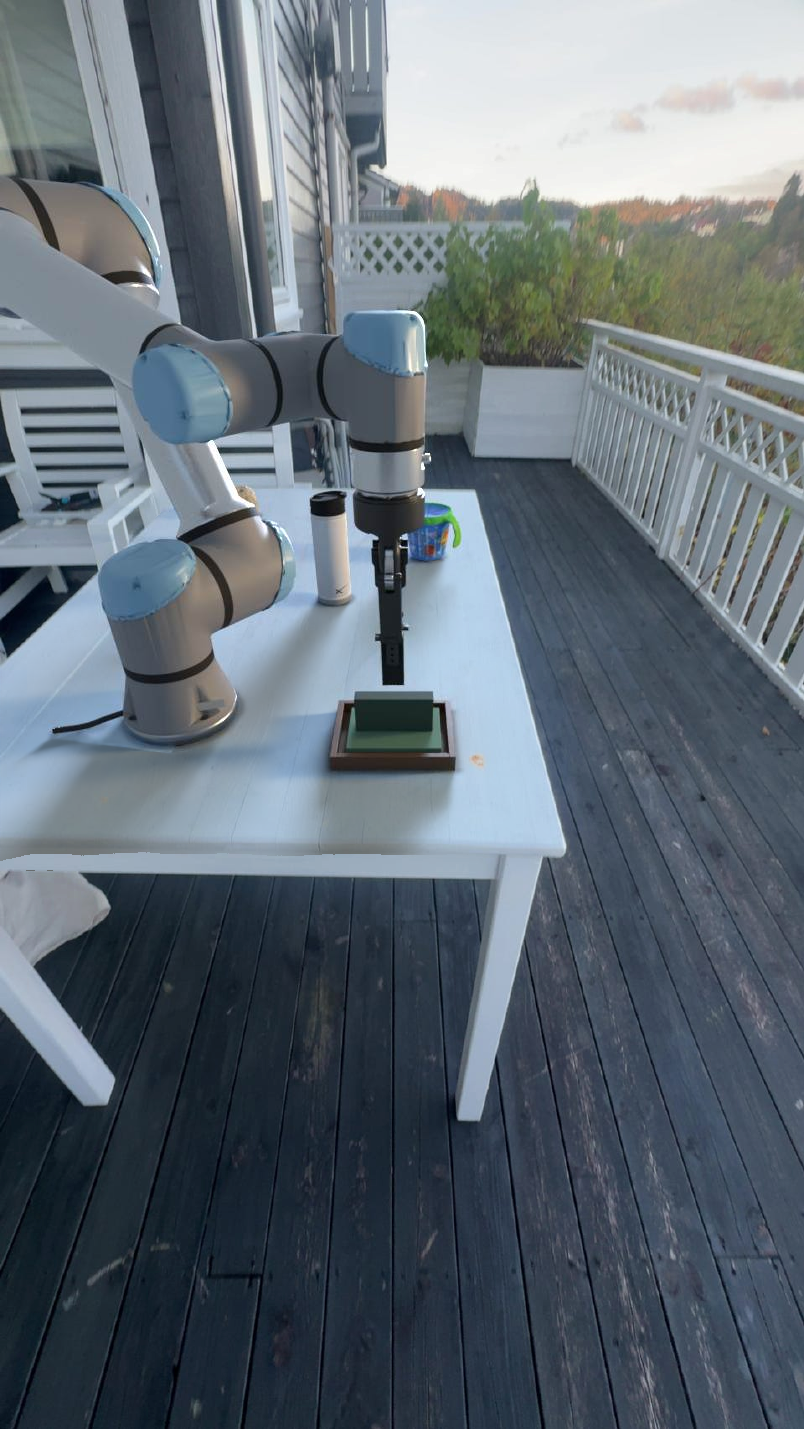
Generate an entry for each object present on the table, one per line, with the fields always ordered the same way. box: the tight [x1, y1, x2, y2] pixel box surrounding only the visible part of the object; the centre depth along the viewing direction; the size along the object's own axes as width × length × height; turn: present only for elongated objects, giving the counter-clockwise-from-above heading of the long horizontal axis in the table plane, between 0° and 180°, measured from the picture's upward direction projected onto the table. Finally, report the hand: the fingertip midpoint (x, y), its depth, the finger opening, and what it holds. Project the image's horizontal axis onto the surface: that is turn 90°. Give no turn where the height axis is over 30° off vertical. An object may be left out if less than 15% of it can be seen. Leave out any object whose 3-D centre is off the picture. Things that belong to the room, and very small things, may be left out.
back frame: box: [329, 699, 457, 771], centre depth 83 cm, size 16×13×2 cm
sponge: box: [234, 485, 260, 514], centre depth 159 cm, size 9×10×10 cm
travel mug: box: [309, 490, 352, 606], centre depth 114 cm, size 6×7×20 cm
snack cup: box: [406, 502, 462, 562], centre depth 134 cm, size 16×10×10 cm
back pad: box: [346, 690, 441, 753], centre depth 81 cm, size 12×9×6 cm
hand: (393, 682), depth 78 cm, fingers closed
